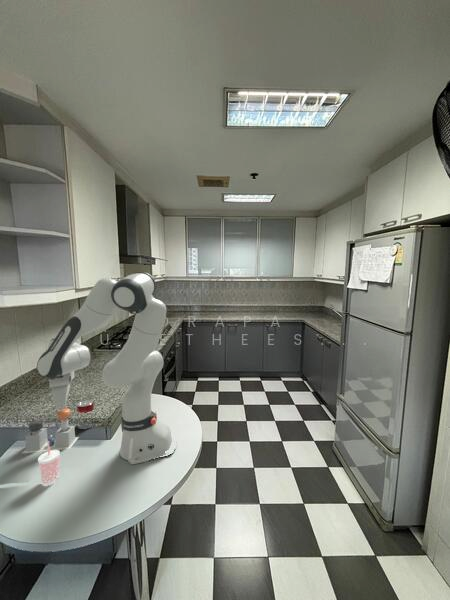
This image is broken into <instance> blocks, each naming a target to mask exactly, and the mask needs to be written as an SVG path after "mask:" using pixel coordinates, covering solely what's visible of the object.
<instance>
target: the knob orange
mask: <svg viewBox="0 0 450 600" xmlns="http://www.w3.org/2000/svg"><path fill="white" fill-rule="evenodd" d="M56 416H57V420H58V421H59V420H60V428H61V432H66V431H68V430H69V427H68V426H69V418H70V417H71V409H70V408H65V409H62V410H61V409H59V410H58V411H57V413H56Z"/></svg>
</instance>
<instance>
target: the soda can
mask: <svg viewBox="0 0 450 600" xmlns="http://www.w3.org/2000/svg"><path fill="white" fill-rule="evenodd" d="M93 409H94V410H95V401H94V400H92V399H86V400H83V401H80V402H78V403H77V404H76V414H77V413H81V414H82V413H87V412H90V411H92V410H93Z"/></svg>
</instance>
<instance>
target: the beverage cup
mask: <svg viewBox="0 0 450 600" xmlns="http://www.w3.org/2000/svg"><path fill="white" fill-rule="evenodd" d="M47 443H48V451H44V453H42V454H40V455H39V456H38V458H37V462H38V464H39V470H40V479H41V484H42V486H44V487H49V486H51V485H53V484H56V483H57V482H58V480H59V474H60V470H59V469H60V455H61V453H60V451H61V450H51V451H50V448H49V441H47ZM48 485H49V486H48Z"/></svg>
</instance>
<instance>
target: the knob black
mask: <svg viewBox="0 0 450 600" xmlns="http://www.w3.org/2000/svg"><path fill="white" fill-rule="evenodd" d="M43 423H44V421H43V420H42V419H37V420H33V421H31V422H30V423H28V431H29V433H30V432H32V435H33V434H39V433H40V429H42V428H44V424H43Z"/></svg>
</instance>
